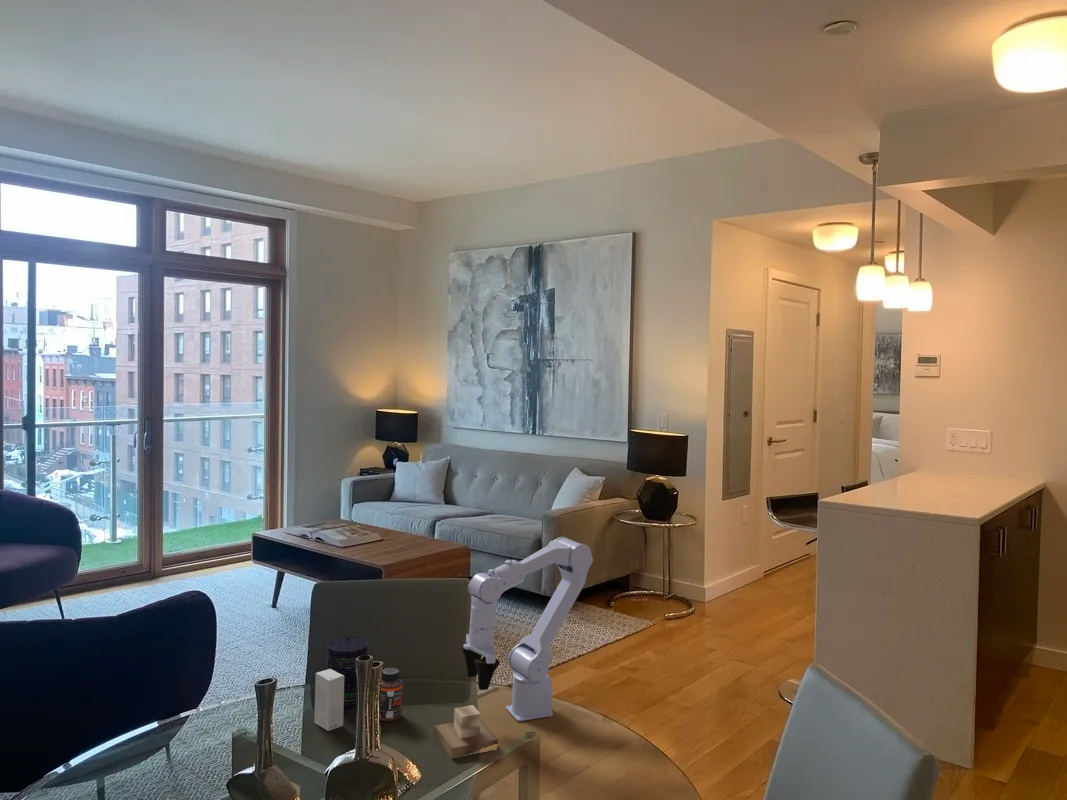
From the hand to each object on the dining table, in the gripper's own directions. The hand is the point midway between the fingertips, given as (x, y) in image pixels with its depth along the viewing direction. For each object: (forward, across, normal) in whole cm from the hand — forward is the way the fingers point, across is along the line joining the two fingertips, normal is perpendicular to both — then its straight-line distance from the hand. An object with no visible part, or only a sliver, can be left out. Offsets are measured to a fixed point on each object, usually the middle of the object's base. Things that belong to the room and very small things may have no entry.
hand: (477, 682), depth 186 cm
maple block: (+8, +7, -5) cm, 12 cm away
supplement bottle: (+11, -11, -18) cm, 24 cm away
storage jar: (+12, -22, -26) cm, 36 cm away
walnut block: (+11, +7, -5) cm, 14 cm away
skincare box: (+12, -12, -32) cm, 36 cm away
